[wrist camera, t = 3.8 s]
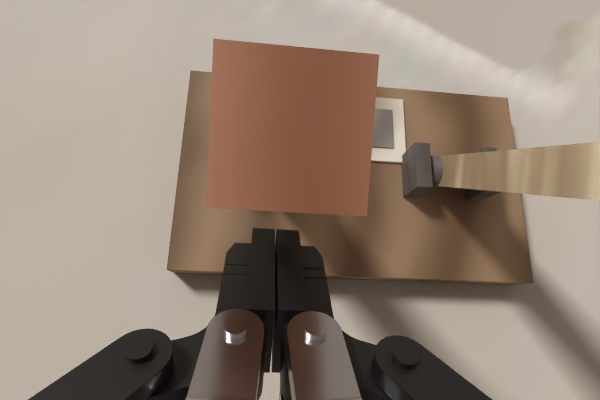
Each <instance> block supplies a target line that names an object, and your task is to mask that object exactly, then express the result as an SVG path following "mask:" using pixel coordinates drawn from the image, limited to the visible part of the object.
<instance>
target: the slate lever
mask: <svg viewBox="0 0 600 400" xmlns="http://www.w3.org/2000/svg"><path fill="white" fill-rule="evenodd" d="M431 167H432V181H433V186H441V187H453V188H464V189H476V190H487V191H498V192H510V193H521V194H533V195H544V196H555V197H567V198H578V199H590V200H600V142H595V143H583V144H571V145H560V146H548V147H536V148H525V149H513V150H501V151H490V152H478V153H466V154H455V155H443V156H431Z"/></svg>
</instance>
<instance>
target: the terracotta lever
mask: <svg viewBox="0 0 600 400" xmlns="http://www.w3.org/2000/svg"><path fill="white" fill-rule="evenodd" d="M378 62H379V55H377V54H367V53H356V52H346V51H335V50H325V49H314V48H304V47H294V46H283V45H273V44H262V43H252V42H241V41H231V40H221V39H214V42H213V64H212V86H211V108H210V130H209V152H208V174H207V196H206V208H218V209H237V210H256V211H275V212H295V213H314V214H333V215H352V216H367V208H368V195H369V182H370V168H371V155H372V142H373V129H374V115H375V102H376V89H377V75H378Z"/></svg>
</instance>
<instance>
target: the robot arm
mask: <svg viewBox="0 0 600 400" xmlns="http://www.w3.org/2000/svg"><path fill="white" fill-rule="evenodd" d="M324 269H325V268H324V262H323V256H322V255H321V254H320V253H319V251H318V250H317V249H316V248H315V246H301V244H300V234H299V230H287V229H277V230H276V240H275V229H265V228H253V230H252V241H251V243H234V244H233V246H232V247H231V248H230V249H229V250H228V251H227V253H226V258H225V264H224V270H223V276H222V281H221V287H220V292H219V298H218V303H217V309H216V314H215V317H214V318H213V319H212V320H211V321H210V322H209V324H208V326H207V327H206V328H205V329H203V330H202V331H200V332H198V333H196V334H194V335H191V336H188V337H184V338H180V339H176V340H172V341H171V340H170V339H169V337H168V336H167V335H166V334H164V333H163V332H161V331H158V330H154V329H140V330H136V331H132V332H130V333H127V334H125V335H124V336H122V337H120V338H119V339H117V340H116V341H114V342H113V343H111V344H110V345H108V346H107V347H105V348H104V349H102V350H101V351H100V352H98V353H97V354H95V355H94V356H92V357H91V358H89V359H88V360H86V361H85V362H83V363H82V364H80V365H79V366H77V367H76V368H74V369H73V370H71V371H70V372H68V373H67V374H65V375H64V376H62V377H61V378H60V379H58V380H57V381H55V382H54V383H52V384H51V385H49V386H48V387H46V388H45V389H43V390H42V391H40V392H39V393H37V394H36V395H34V396H33V397H31V398H30V399H28V400H259V398H260V396H261V393H262V387H263V375H264V372H269V371H270V361H271V350H272V372H280V393H279V400H492V399H490V398H489V397H488V396H487V395H485V394H484V393H483V392H481V391H480V390H479V389H477V388H476V387H475V386H474V385H472V384H471V383H470V382H468V381H467V380H466V379H464V378H463V377H462V376H461V375H459V374H458V373H457V372H455V371H454V370H453V369H451V368H450V367H449V366H448V365H446V364H445V363H444V362H442V361H441V360H440V359H438V358H437V357H436V356H435V355H433V354H432V353H431V352H429V351H428V350H427V349H425V348H424V347H423V346H422V345H420V344H419V343H417V342H416V341H414V340H412V339H409V338H407V337H403V336H388V337H386V338H384V339H382V340H381V341H380V342H379V343H378V344H377V345H373V344H370V343H367V342H364V341H360V340H357V339H355V338H353V337H351V336H349V335H347V334H346V333H345V332H343V331H342V330H341V327H340V326H339V324H338V323H337V322H336V321H335V320H334V317H333V312H332V307H331V301H330V296H329V290H328V284H327V280H326V273H325V270H324Z"/></svg>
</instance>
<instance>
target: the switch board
mask: <svg viewBox="0 0 600 400" xmlns="http://www.w3.org/2000/svg"><path fill="white" fill-rule="evenodd" d="M211 86H212V72H201V71H191V73H190V81H189V90H188V98H187V106H186V114H185V123H184V131H183V139H182V148H181V156H180V164H179V173H178V181H177V189H176V198H175V206H174V214H173V222H172V231H171V239H170V247H169V256H168V264H167V270H169V271H171V272H174V273H202V274H223V270H224V264H225V258H226V253H227V251H228V250H229V249H230V248H231V247H232V246H233V244H234V243H251V241H252V230H253V228H265V229H275V240H276V230H277V229H287V230H299V234H300V244H301V246H315V248H316V249H317V250H318V251H319V253H320V254H321V255H322V256H323V262H324V268H325V269H324V270H325V273H326V278H343V279H371V280H399V281H427V282H455V283H483V284H511V285H515V284H526V283H533V278H532V271H531V264H530V256H529V249H528V242H527V235H526V227H525V220H524V213H523V206H522V198H521V193H510V192H498V191H487V190H476V189H464V188H453V187H441V186H433V181H432V167H431V156H443V155H455V154H466V153H478V152H490V151H501V150H513V149H515V148H514V141H513V133H512V126H511V119H510V112H509V104H508V98H499V97H488V96H476V95H465V94H453V93H442V92H430V91H419V90H407V89H396V88H384V87H377V89H376V102H375V115H374V129H373V142H372V155H371V168H370V182H369V195H368V208H367V216H352V215H333V214H314V213H295V212H275V211H256V210H237V209H218V208H206V196H207V174H208V152H209V130H210V108H211Z"/></svg>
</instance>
